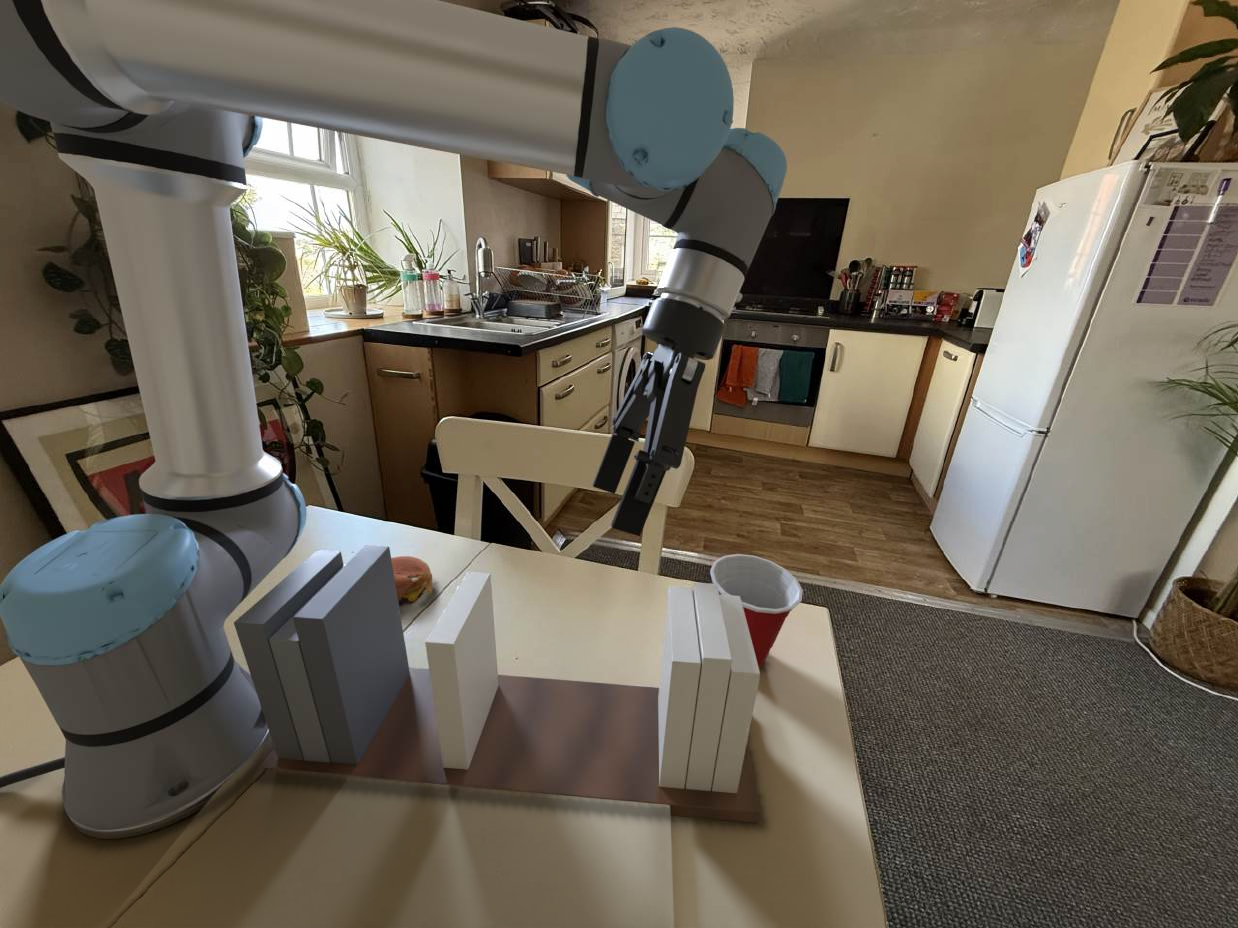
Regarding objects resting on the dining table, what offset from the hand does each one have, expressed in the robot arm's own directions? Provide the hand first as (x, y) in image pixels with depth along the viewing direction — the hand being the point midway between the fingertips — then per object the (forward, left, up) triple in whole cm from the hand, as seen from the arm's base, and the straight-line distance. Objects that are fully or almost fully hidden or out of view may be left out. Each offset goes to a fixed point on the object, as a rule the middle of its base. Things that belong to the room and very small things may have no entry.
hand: (612, 508), depth 51 cm
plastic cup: (+17, +4, -22) cm, 28 cm away
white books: (+10, -10, -21) cm, 25 cm away
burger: (-31, +11, -22) cm, 40 cm away
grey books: (-26, -10, -21) cm, 35 cm away
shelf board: (-8, -10, -22) cm, 26 cm away
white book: (-13, -10, -21) cm, 26 cm away
